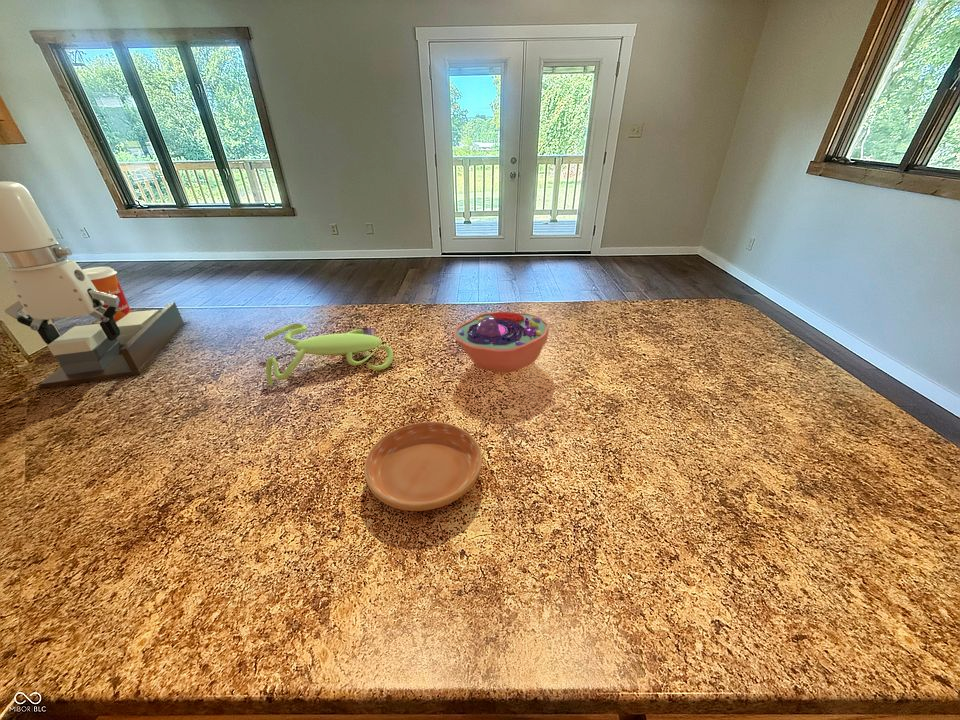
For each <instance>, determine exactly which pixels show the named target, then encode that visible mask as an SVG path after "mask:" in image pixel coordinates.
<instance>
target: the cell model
mask: <svg viewBox="0 0 960 720" xmlns="http://www.w3.org/2000/svg"><path fill="white" fill-rule="evenodd" d="M549 331H550V324H549V322H547V321H546V320H545V319H543V317H540V316H538V315H534V314H529V313H522V312H521V313H519V312H514V311H505V310H504V311H489V312H483V313H479V314H477V315H475V316H474V317H472V318H470V319H469V320H467V321H464V322H462V323H460V324H459V325H458V326H457V327H456V328H455V329H454V331H453V337H454V339H455V340H456V342H457V343H458V345H459V346H460V348H462V350H463V351H464V353H465V354H466V355H467V356H468V358H469V359H470V360H471V361H472V362H473V364H474V366H475V367H476V368H477V369H479V370H484V371H491V372H496V373H503V374H504V373H505V374H509V373H514V372H517V371H519V370H521V369H523V368H526V367H528V366H530V365H532V364H533V363H534V362H536V361H537V360H538V358H539V356H540V355H541V352H542V350H543V348H544V346H545V345H546V343H547V341H548V338H549Z"/></svg>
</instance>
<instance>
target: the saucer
mask: <svg viewBox="0 0 960 720" xmlns="http://www.w3.org/2000/svg"><path fill="white" fill-rule="evenodd" d="M482 465H483V453H482V449H481V447H480V444H479V442H478V441H477V440H476V439H475V438H474V436H473V435H472V434H471V433H469V432H468V431H466V430H465V429H463V428H461V427H459V426H457V425H455V424H452V423H447V422H442V421H420V422H413V423H410V424H406V425H403V426H401V427H398V428H396V429H393V430H392V431H390V432H388V433H386V434H385V435H384V436H383V437H381V438H380V439H379V440H377V442H376V443H374V445H373V446H372V447H371V449H370V451H369V452H368V453H367V455H366V459H365V461H364V465H363V466H364V467H363V468H364V469H363V474H364V479H365V482H366V484H367V487H368V489H369V490H370V492H371V494H372V495H373V496H374V497H375V498H376V499H378V500H379V501H380V502H382V503H383V504H384V505H386V506H389V507H391V508H394V509H398V510H402V511H411V512H423V511H424V512H425V511H430V510H434V509H438V508H442V507H445V506H448V505H449V504H452V503H454V502H455V501H457V500H459V499H460V498H461V497H463V496H464V495H465V494H466V493H467V492H469V491H470V490H471V488H473V486H474V485H475V484H476V482H477V480H478V479H479V476H480V473H481V470H482Z"/></svg>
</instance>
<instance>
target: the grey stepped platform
mask: <svg viewBox="0 0 960 720" xmlns="http://www.w3.org/2000/svg"><path fill="white" fill-rule="evenodd" d="M159 311H160V312H159V313H158V314H157V315H156V316H155V317H154V318H153V319H152V320H151V321H150V322H148V323H147V324H146V325H145V326H144V327H143V328H142V329H141V330H140V331H139V332H138V333H137V334H136V335H135V336H134V337H132V338H131V339H130V340H129V341H128V342H127V343H126V344H124V345H121V346H122V348H121V349H120V351H121V353H120V354H119V355H118V356H117V357H116V358H115V359H114V360H113V361H111V362H110V363H109V364H108V365H107V366H106V367H105V368H104V369H103V370H99V371H91V372H84V373H76V374H69V375H66V374H65V372H64V371H63V369H62V368H61V366H60V367H58V368H57V369H56V370H55V371H54V372H52V373H51V374H50V375H48V376H47V377H46V378H44V380H42V381H41V382H40V383H39V384H38V385H39V387H40V388H41V389H48V388H55V387H63V386H70V385H76V384H84V383H91V382H97V381H104V380H111V379H118V378H120V379H121V378H125V377H132V376H141V375H142V374H143V373H144V372H145V370H146V369H147V368H148V366H150V364H151V363H152V362H153V361H154V360H155V358H156V357H157V356H158V355H159V354H160V353H161V352H162V351H163V349H165V347H166V346H167V345H168V343H169V342H170V341H171V340H172V339H173V338H174V337H175V336H176V334H177V333H178V332H179V331H180V330H181V328H182V327H183V326H184V325H185V322H184V321H183V318H182V315H181V313H180V311H179V309H178V306H177V304H176V302H174V301H173V302H168V304H166V305H165V306H164V307H163V308H162V309H161V310H159Z"/></svg>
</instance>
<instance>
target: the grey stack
mask: <svg viewBox="0 0 960 720" xmlns="http://www.w3.org/2000/svg"><path fill="white" fill-rule="evenodd" d="M121 348H122V346H121V344H120V342H119V341H118V340H117V338H116V339H115V340H112V341H110V340H108V338H106V339H105V340H104V341H102V342H101V343H100V344H99V345H98V346H96V347H95V348H94V349H93V350H92V351H86V352H78V353H70V354H62V355H54V357H55V359H56V360H57V362H58V364H59V366H60V367H61V368H62V369H63V371H64V372H65V374H66V375H69V374H76V373H84V372H91V371H99V370H103V369H104V368H105V367H106V366H107V365H108V364H109V363H110V362H111V361H113V360H114V359H115V358H116V357H117V356H118V355H119V354H120V353H121V351H120V349H121Z"/></svg>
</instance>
